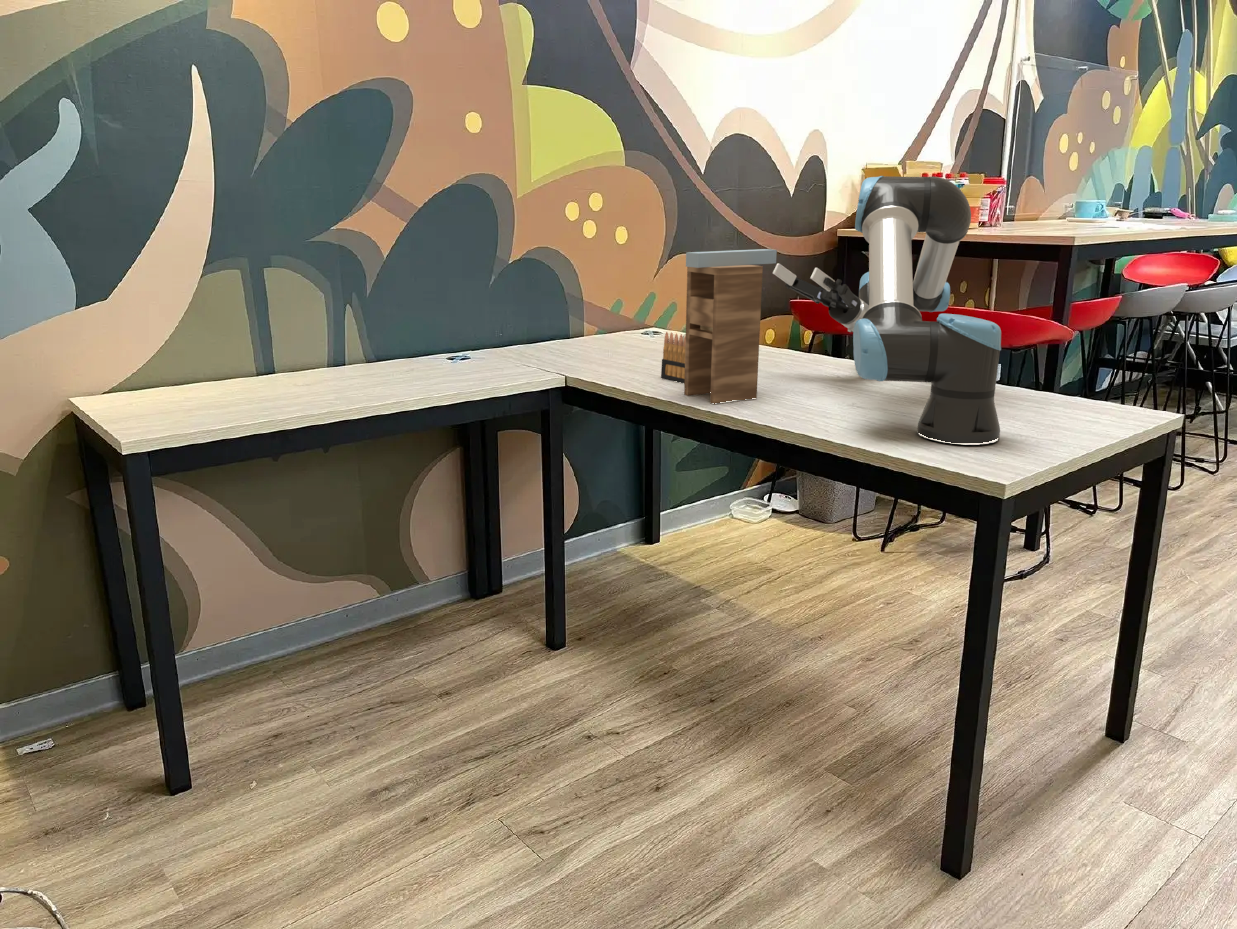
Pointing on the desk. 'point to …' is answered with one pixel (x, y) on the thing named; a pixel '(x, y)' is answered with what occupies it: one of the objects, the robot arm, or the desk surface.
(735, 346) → the rack
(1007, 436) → the desk surface
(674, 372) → the ammunition clip
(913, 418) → the desk surface
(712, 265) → the batten
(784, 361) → the desk surface
